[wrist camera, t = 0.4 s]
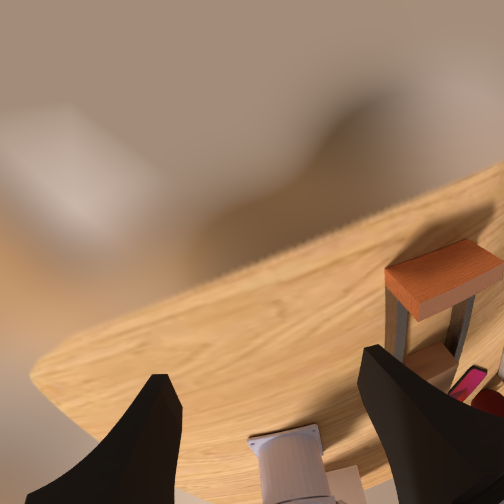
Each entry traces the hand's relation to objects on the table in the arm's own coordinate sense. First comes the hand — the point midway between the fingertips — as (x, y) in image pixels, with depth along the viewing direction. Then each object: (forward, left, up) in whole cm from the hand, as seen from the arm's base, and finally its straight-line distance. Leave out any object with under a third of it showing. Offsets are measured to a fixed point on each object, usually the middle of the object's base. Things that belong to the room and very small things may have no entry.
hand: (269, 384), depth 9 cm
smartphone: (-31, -22, -11) cm, 39 cm away
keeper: (-17, -14, -10) cm, 24 cm away
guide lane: (-12, -14, -10) cm, 21 cm away
